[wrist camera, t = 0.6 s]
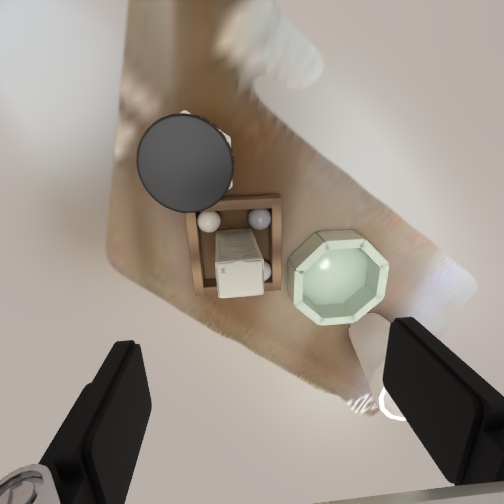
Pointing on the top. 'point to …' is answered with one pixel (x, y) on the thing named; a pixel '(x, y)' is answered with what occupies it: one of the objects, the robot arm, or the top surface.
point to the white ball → (267, 270)
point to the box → (238, 264)
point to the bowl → (336, 277)
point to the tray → (238, 203)
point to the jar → (185, 162)
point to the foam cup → (374, 358)
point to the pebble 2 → (259, 218)
